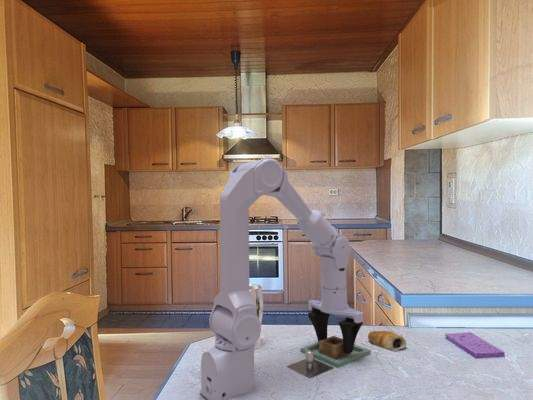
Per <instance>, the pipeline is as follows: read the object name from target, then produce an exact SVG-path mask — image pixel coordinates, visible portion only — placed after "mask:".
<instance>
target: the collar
mask: <svg viewBox="0 0 533 400" xmlns="http://www.w3.org/2000/svg"><path fill="white" fill-rule="evenodd" d="M318 353H319V354H321V355H323V356H326V357H328V358H331V359H333V360H336V361H338V360H339V359H341V358H342V359H343V358H345V357H348V355H349V356H350V355H352V352H351V353H349V354H345V353H344V349H343V338H341V337H338V336H335V335H331V336H330V337H327V338H326V339H323V340H320V341H319V348H318Z"/></svg>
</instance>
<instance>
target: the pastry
mask: <svg viewBox="0 0 533 400" xmlns="http://www.w3.org/2000/svg"><path fill="white" fill-rule="evenodd" d="M367 338H368V340H369V341H370V342H371V343H372V344H373V346H375V347H378V348H381V349H385V350H387V351H390V352H393V353H395V352H397V351H400V350H404V349H405V348H406V346H407V341H406V339H405V337H404V336H403V335H401V334H398V333H395V332H394V331H390V330H372V331H370V332H369V333H368V335H367Z"/></svg>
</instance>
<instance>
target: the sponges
mask: <svg viewBox="0 0 533 400" xmlns="http://www.w3.org/2000/svg"><path fill="white" fill-rule="evenodd" d="M444 336H445V340H447V341H448V342H450V343H451V342H452V344H453V345H454V344H455V345H454V346H456V347H458V349H460V350H462V351H463V350H464V351H463V352H464V353H466V352H467V353H466V354H468V355H469V354H470V355H469V356H470V357H473V358H475V359H490V358H505V357H506V355H505V351H504V350H502V349H500V348H498V347H497V346H496V345H494V344H491V343H490V342H488V341H486V340H485V339H482V338H481V336H480V337H479V336H478V335H477V334H475V333H473V332H472V331H468V332H461V333H460V332H455V333H453V332H452V333H451V332H450V333H449V332H448V333H444Z"/></svg>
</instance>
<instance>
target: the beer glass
mask: <svg viewBox="0 0 533 400" xmlns="http://www.w3.org/2000/svg"><path fill="white" fill-rule="evenodd" d="M249 291H250V294H251V296H252V298H253V299H254V301H255V303H256V311H257V316H258V318H259V320H260V323H261V324H262V322H263V313H264V296H263V286H262V285H260V284H255V283H253V284H251V283H249ZM261 338H262V337H261V335H260V336H259V338H258V340H257V341H256V342H255V347H254V350H256V349H257V348H260V347H261V346H262V345H263V344H262V343H263V342H262V339H261Z"/></svg>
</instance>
